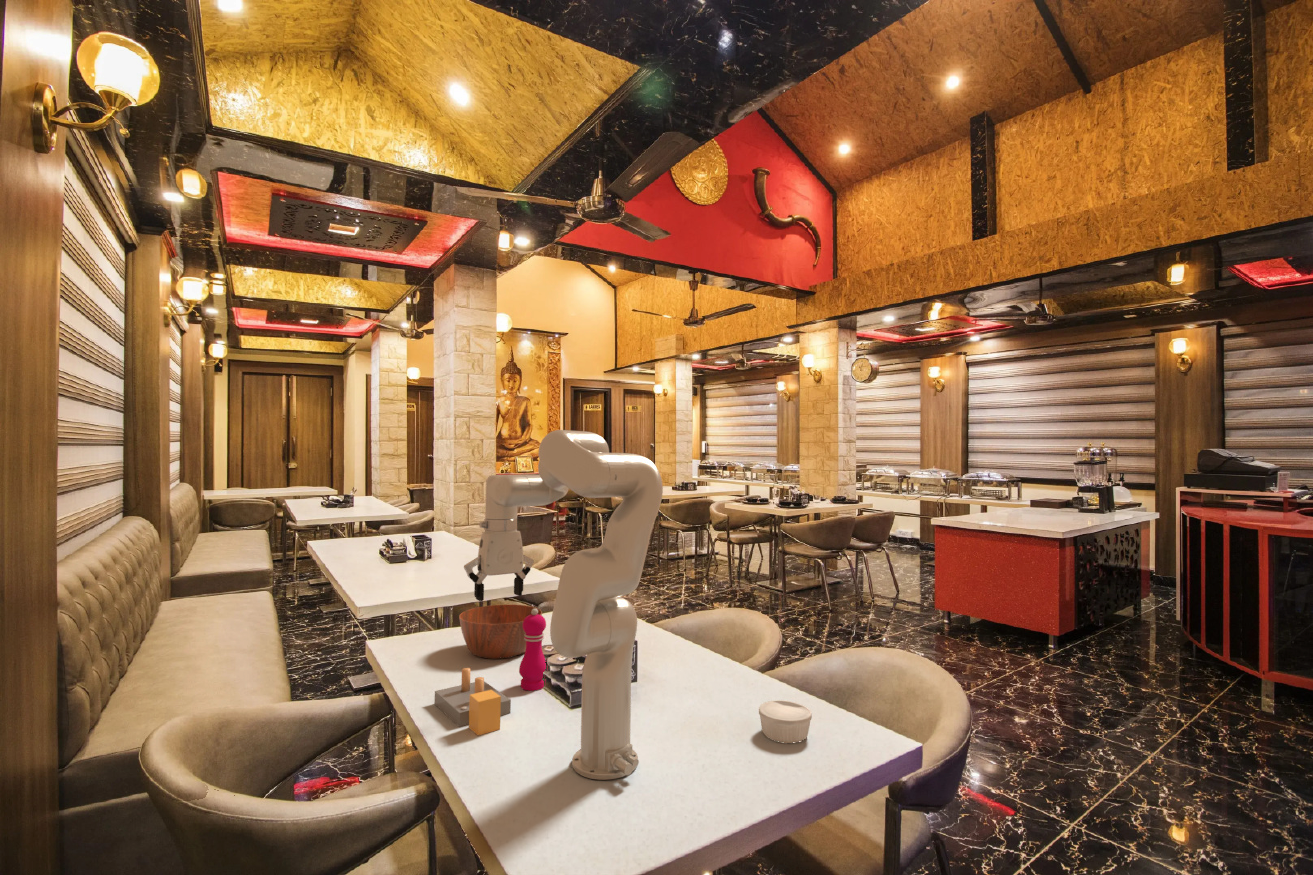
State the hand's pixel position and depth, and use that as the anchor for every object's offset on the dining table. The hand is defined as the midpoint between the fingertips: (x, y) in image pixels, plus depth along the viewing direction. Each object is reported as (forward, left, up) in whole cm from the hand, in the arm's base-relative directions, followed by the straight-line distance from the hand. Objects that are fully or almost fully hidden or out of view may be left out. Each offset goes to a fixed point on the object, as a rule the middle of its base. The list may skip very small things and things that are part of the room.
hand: (499, 597), depth 143 cm
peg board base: (+2, +5, -26) cm, 26 cm away
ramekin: (-52, -43, -26) cm, 72 cm away
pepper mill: (+6, -13, -26) cm, 29 cm away
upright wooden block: (-10, +7, -26) cm, 28 cm away
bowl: (+39, -19, -26) cm, 51 cm away
